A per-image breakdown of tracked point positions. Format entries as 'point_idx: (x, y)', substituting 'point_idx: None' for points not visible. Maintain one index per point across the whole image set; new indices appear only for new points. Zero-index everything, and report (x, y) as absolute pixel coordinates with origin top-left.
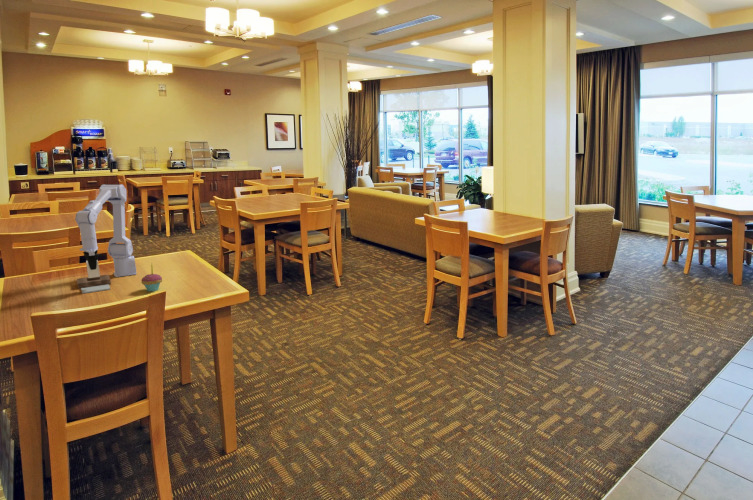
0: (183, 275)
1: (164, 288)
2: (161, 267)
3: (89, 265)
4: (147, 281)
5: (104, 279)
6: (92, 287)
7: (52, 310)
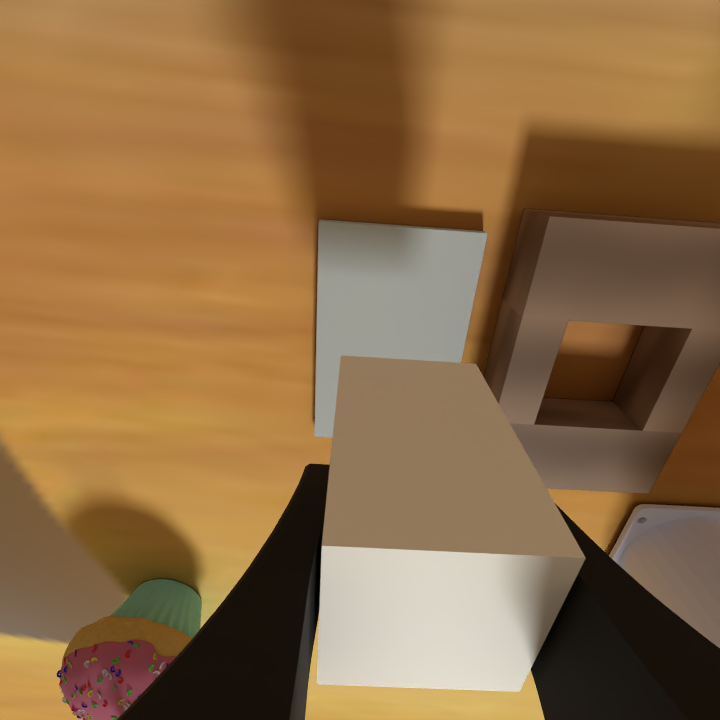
0: (372, 715)
1: None
2: None
3: (280, 524)
4: (63, 660)
5: None
6: (436, 329)
7: None
